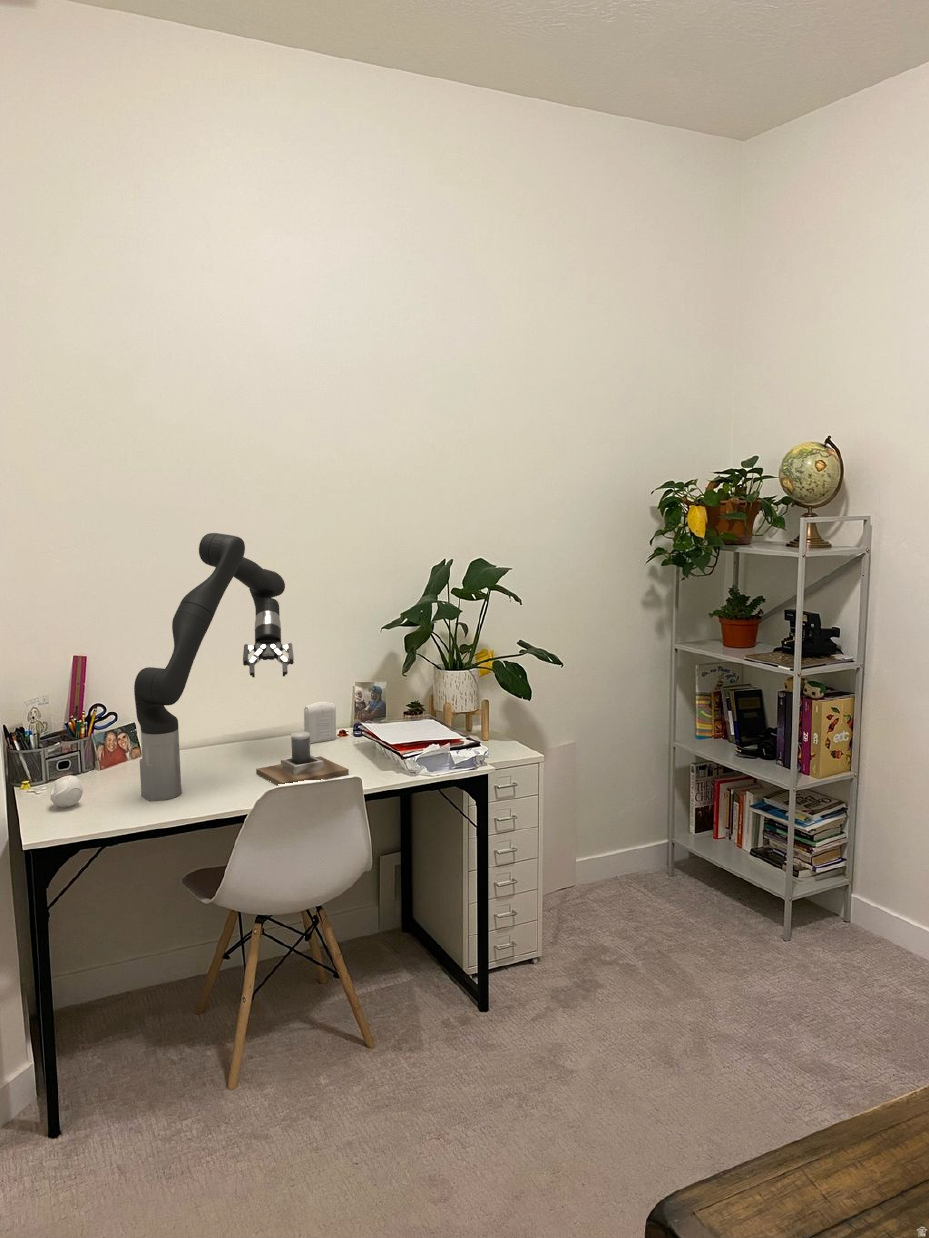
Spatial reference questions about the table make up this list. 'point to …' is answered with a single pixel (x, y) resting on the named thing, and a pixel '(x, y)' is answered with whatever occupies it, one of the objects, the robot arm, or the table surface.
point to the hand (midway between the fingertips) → (268, 675)
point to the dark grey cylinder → (300, 747)
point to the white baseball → (66, 791)
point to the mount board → (302, 771)
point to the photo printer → (320, 721)
